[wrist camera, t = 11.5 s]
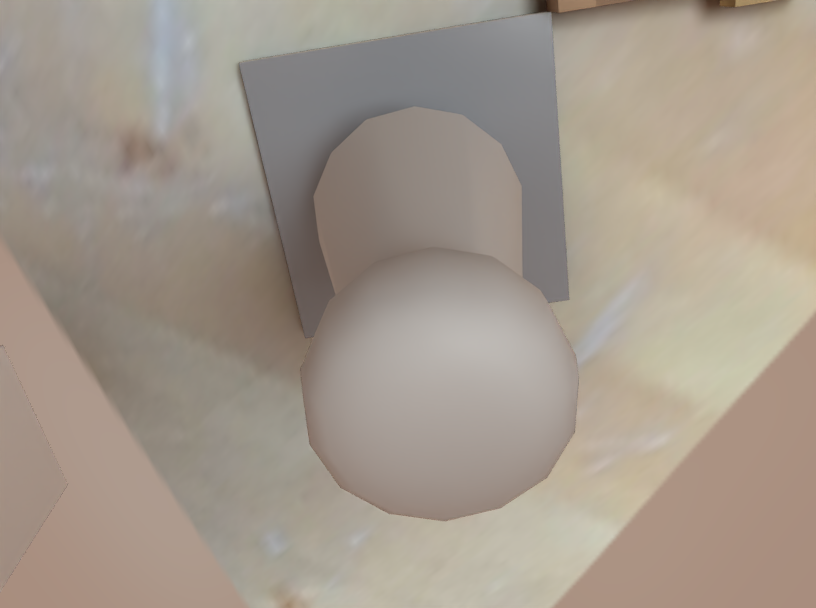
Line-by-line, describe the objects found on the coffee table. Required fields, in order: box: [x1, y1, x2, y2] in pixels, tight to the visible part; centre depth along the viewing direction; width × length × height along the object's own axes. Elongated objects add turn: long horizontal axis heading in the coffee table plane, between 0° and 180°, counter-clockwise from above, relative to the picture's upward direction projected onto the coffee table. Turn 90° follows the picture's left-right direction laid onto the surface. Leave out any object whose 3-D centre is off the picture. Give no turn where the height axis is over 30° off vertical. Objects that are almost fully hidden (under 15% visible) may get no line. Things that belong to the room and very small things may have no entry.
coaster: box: [239, 11, 569, 338], centre depth 22 cm, size 9×9×1 cm
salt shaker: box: [300, 106, 579, 521], centre depth 16 cm, size 6×6×13 cm
